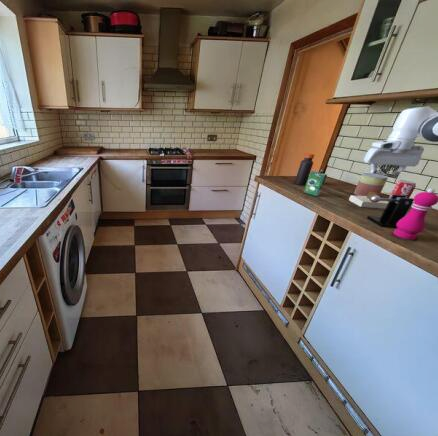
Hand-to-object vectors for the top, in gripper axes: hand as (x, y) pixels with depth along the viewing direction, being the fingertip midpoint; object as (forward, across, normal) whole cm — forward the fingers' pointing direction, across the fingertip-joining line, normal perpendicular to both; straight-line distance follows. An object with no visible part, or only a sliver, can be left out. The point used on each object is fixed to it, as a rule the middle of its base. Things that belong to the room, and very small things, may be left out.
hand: (384, 174), depth 111 cm
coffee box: (+18, +22, -14) cm, 32 cm away
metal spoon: (+8, +8, +21) cm, 24 cm away
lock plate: (+18, -3, -5) cm, 19 cm away
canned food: (+18, -11, -24) cm, 32 cm away
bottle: (+18, +21, -36) cm, 46 cm away
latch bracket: (+18, +3, +20) cm, 27 cm away
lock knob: (+15, -3, -5) cm, 16 cm away
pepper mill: (+18, +5, +33) cm, 38 cm away
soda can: (+18, -18, -10) cm, 27 cm away
